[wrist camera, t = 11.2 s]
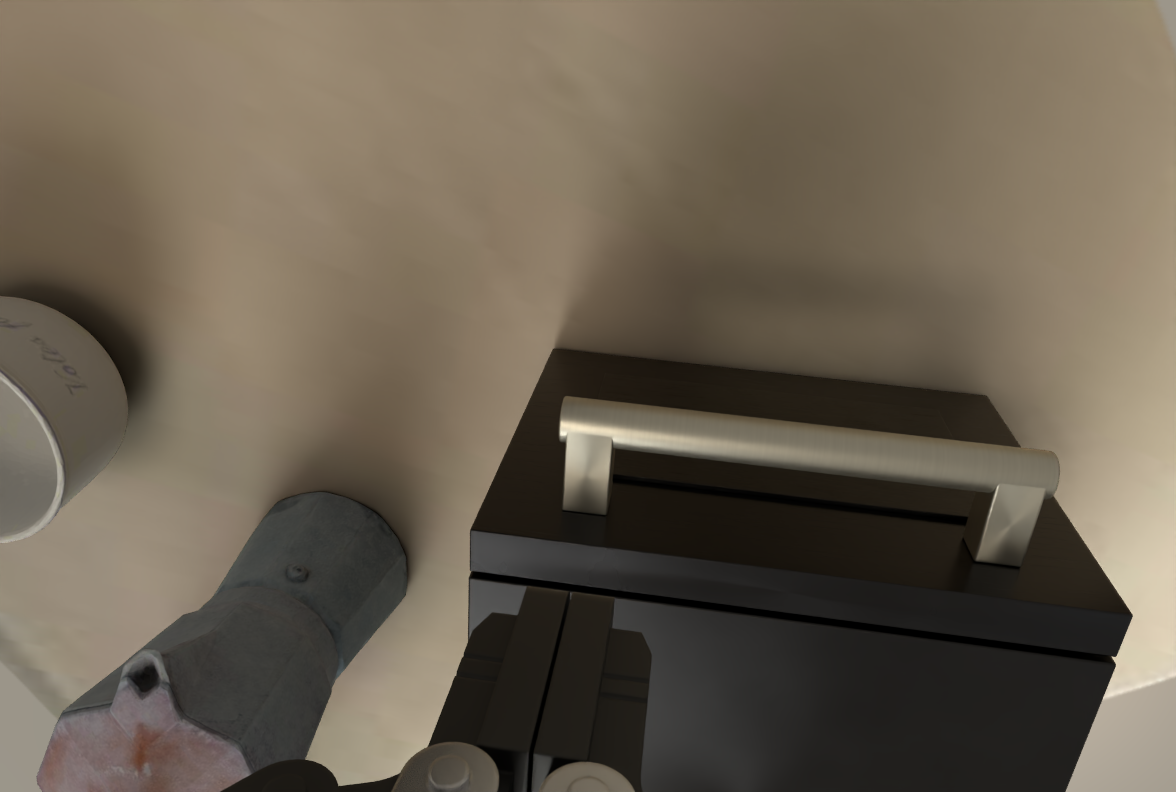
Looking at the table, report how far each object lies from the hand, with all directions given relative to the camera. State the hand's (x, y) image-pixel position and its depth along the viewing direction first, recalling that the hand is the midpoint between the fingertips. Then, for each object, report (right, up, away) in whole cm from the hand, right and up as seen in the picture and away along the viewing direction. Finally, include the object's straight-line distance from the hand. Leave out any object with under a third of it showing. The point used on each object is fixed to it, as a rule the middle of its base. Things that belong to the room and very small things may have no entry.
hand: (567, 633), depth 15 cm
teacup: (-29, +6, +32) cm, 43 cm away
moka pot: (-14, -5, +34) cm, 37 cm away
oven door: (+9, +6, +26) cm, 28 cm away
